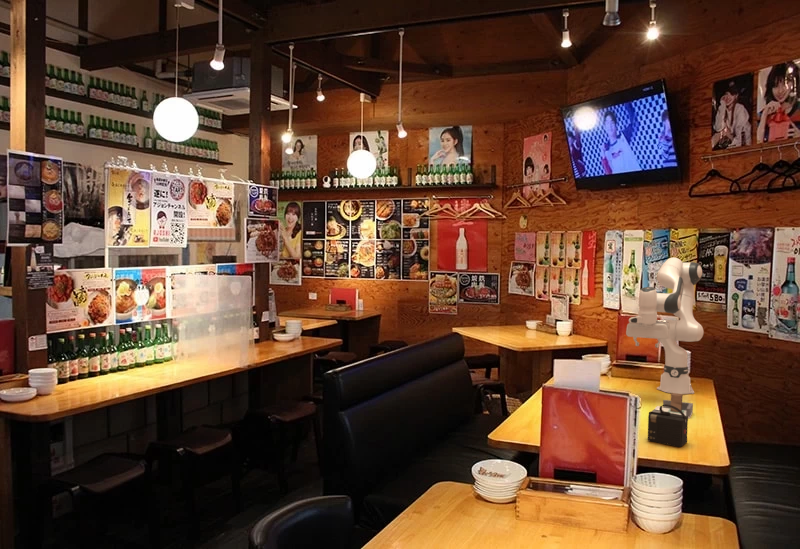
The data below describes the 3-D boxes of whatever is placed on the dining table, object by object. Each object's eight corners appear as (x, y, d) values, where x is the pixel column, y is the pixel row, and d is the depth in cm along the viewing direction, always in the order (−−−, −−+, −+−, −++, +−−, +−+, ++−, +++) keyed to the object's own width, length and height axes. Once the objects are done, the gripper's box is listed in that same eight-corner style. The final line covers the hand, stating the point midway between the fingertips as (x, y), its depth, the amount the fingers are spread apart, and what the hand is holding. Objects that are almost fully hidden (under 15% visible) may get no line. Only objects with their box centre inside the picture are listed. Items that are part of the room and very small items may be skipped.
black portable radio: (653, 435, 267) (655, 399, 266) (689, 442, 258) (690, 405, 258) (645, 441, 259) (646, 404, 258) (681, 448, 250) (682, 410, 249)
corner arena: (656, 407, 313) (657, 398, 312) (692, 412, 304) (692, 403, 304) (652, 413, 302) (653, 404, 302) (689, 418, 294) (690, 409, 293)
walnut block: (671, 409, 306) (672, 392, 305) (681, 410, 303) (682, 393, 303) (670, 411, 302) (671, 394, 301) (680, 412, 300) (681, 395, 299)
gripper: (670, 320, 320) (670, 347, 321) (628, 317, 331) (627, 343, 332) (668, 321, 315) (668, 349, 316) (625, 319, 325) (625, 345, 326)
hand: (647, 346), depth 324 cm, fingers open, 8 cm apart
